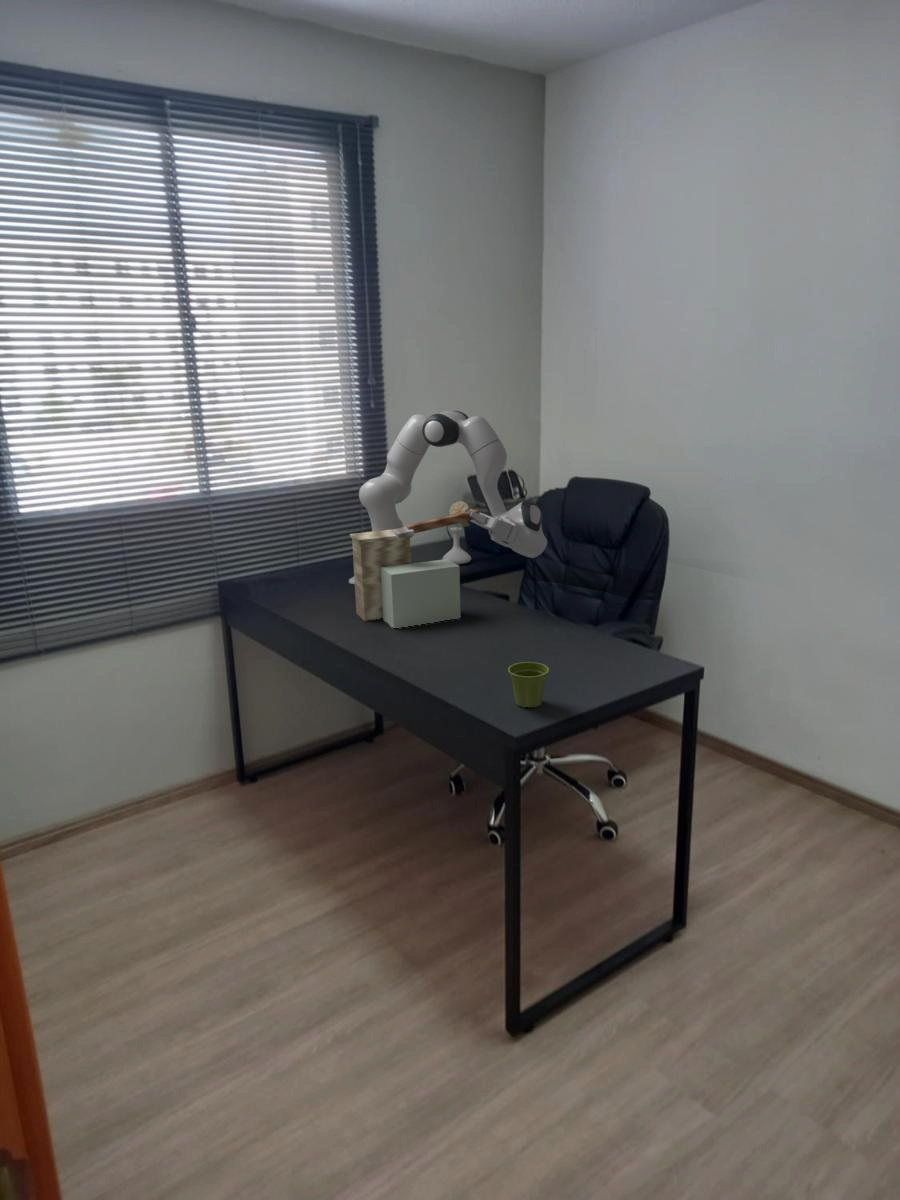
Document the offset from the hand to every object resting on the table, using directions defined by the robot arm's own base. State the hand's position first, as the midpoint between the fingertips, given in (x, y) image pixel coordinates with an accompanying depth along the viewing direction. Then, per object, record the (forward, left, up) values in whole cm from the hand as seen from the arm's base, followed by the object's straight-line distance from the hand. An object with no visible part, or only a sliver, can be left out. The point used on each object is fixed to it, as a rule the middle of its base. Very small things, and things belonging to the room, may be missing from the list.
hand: (467, 512), depth 259 cm
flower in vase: (-34, +52, -32) cm, 70 cm away
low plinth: (-9, -15, -32) cm, 36 cm away
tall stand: (-23, -15, -32) cm, 42 cm away
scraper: (-7, -7, -4) cm, 10 cm away
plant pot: (+48, -59, -32) cm, 82 cm away
